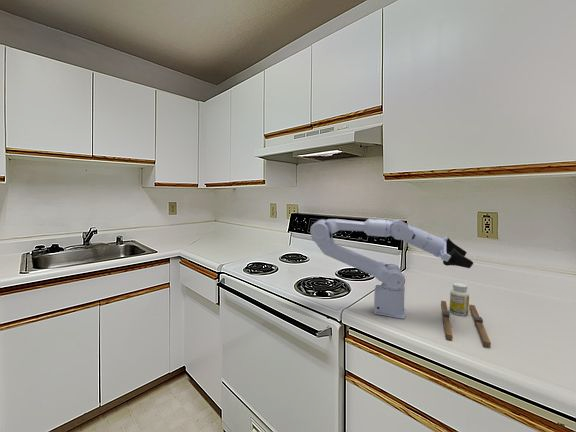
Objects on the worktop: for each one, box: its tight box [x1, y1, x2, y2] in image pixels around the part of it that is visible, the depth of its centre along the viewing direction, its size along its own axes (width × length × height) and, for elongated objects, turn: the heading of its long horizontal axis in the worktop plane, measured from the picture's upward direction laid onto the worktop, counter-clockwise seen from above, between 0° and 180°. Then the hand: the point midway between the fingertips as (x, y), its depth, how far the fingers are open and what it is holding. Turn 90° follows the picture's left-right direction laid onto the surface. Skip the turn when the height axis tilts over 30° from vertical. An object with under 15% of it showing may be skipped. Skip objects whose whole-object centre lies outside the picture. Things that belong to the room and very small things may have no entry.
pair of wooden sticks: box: [440, 300, 492, 349], centre depth 85 cm, size 10×26×2 cm, turn 154°
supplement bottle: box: [449, 282, 470, 317], centre depth 92 cm, size 5×5×10 cm
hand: (468, 259), depth 86 cm, fingers open, 7 cm apart
